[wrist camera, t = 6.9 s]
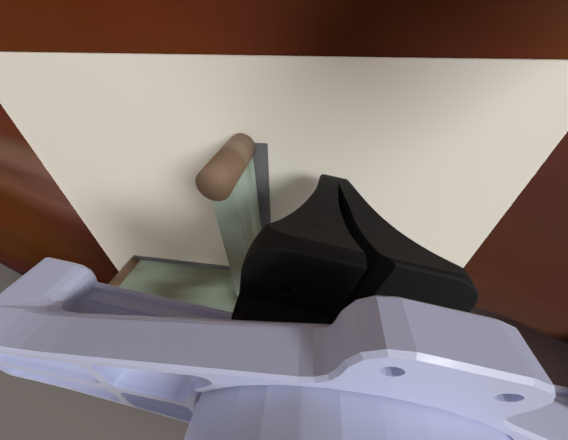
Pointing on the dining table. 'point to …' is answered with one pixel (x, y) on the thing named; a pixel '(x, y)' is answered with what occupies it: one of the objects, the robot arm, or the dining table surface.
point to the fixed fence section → (179, 282)
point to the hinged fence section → (233, 198)
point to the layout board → (285, 139)
